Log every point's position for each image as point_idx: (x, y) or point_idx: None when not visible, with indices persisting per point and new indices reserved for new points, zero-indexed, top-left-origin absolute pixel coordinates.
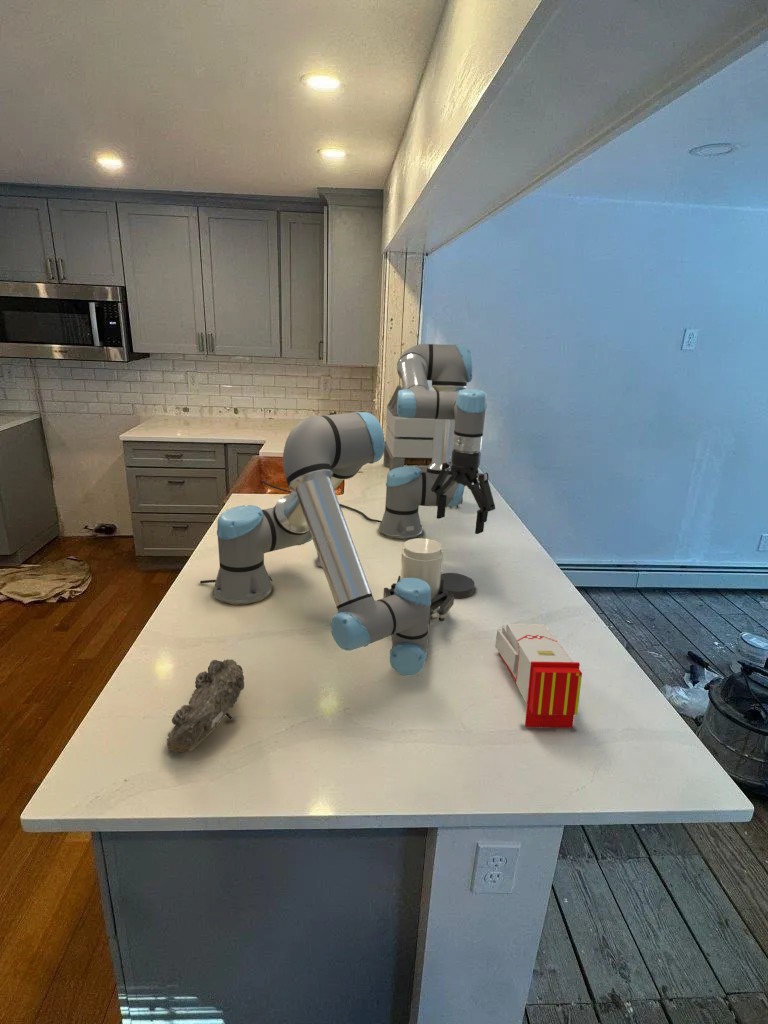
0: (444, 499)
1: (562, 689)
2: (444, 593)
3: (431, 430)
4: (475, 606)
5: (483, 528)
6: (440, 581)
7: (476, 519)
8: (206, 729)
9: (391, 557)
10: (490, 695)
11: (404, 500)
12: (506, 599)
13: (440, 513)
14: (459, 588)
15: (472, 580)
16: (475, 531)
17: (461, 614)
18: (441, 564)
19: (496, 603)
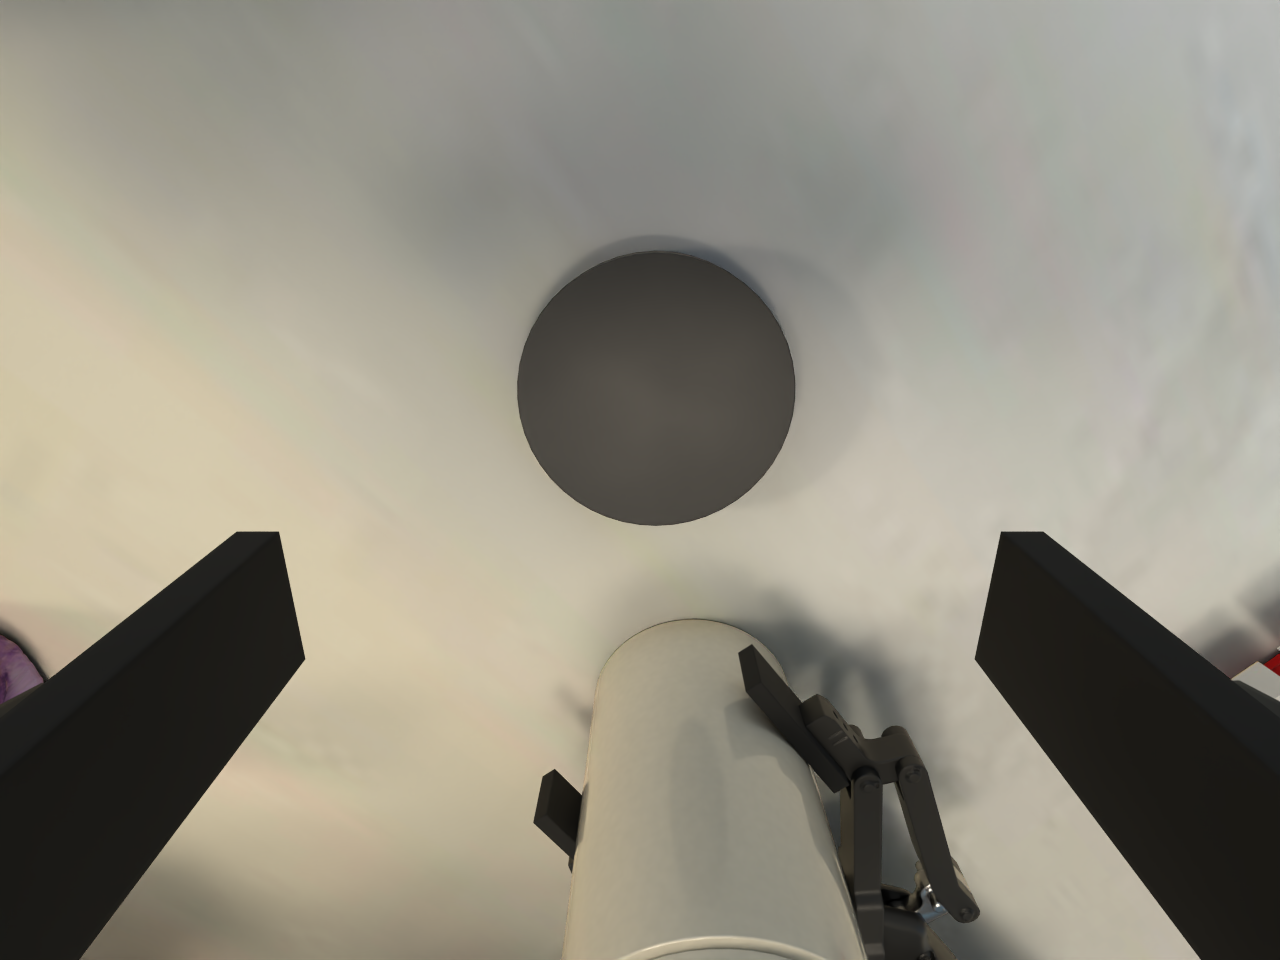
0: (48, 815)
1: None
2: (870, 793)
3: None
4: (880, 460)
5: (1074, 562)
6: (813, 793)
7: (1106, 832)
8: None
9: (69, 360)
10: None
11: None
12: (984, 233)
13: (258, 682)
14: (737, 444)
15: (727, 280)
16: (997, 680)
17: (870, 581)
18: (859, 933)
19: (958, 333)
